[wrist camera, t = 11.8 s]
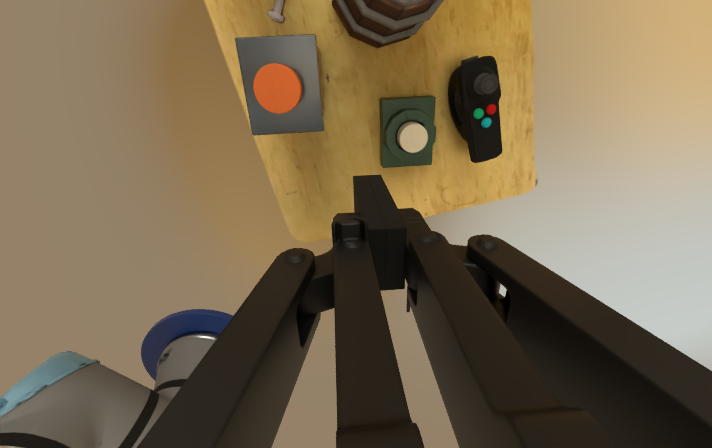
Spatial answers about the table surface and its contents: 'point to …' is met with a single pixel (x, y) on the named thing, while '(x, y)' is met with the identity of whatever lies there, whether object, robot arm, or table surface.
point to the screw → (276, 11)
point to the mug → (384, 18)
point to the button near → (277, 88)
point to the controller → (477, 106)
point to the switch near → (306, 64)
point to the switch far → (394, 117)
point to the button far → (412, 137)
